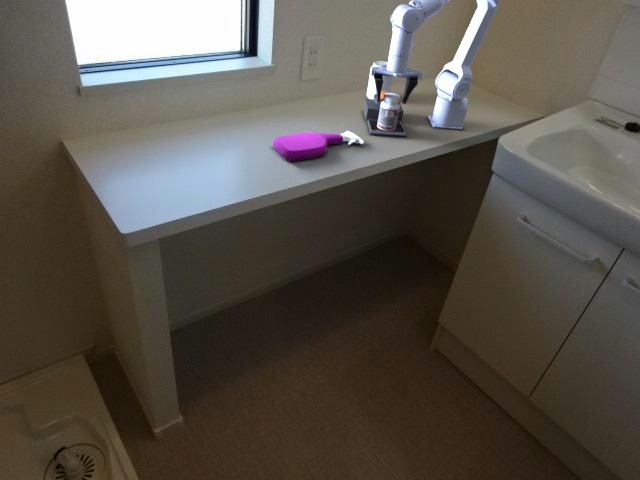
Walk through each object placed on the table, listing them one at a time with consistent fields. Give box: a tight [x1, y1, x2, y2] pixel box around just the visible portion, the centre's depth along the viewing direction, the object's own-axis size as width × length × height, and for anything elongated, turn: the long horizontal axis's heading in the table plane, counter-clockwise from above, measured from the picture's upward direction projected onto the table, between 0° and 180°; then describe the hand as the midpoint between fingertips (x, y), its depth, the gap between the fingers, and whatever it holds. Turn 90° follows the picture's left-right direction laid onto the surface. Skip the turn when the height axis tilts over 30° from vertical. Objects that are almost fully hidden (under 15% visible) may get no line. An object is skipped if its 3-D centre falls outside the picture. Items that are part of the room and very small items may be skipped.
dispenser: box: [363, 94, 404, 122], centre depth 152 cm, size 11×9×6 cm
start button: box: [380, 91, 390, 99], centre depth 151 cm, size 3×3×2 cm
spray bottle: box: [272, 130, 365, 162], centre depth 131 cm, size 3×11×24 cm
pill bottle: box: [377, 92, 401, 131], centre depth 142 cm, size 6×6×10 cm
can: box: [366, 60, 393, 99], centre depth 162 cm, size 8×8×12 cm
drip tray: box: [366, 119, 407, 138], centre depth 145 cm, size 10×9×1 cm
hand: (391, 101), depth 140 cm, fingers open, 7 cm apart
